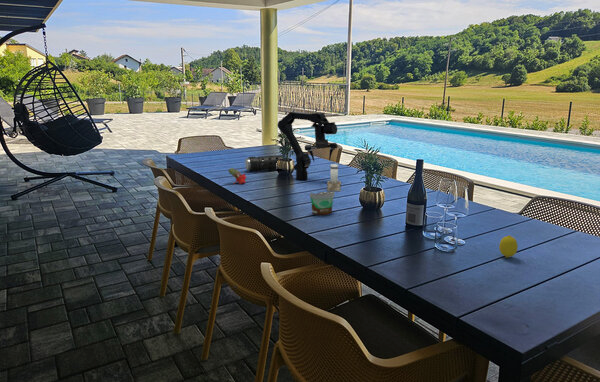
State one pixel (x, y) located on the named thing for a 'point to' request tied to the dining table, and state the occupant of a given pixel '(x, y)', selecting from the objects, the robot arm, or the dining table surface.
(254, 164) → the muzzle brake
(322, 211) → the food container
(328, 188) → the holder
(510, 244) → the lemon
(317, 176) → the dining table surface
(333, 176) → the plug
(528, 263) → the dining table surface
